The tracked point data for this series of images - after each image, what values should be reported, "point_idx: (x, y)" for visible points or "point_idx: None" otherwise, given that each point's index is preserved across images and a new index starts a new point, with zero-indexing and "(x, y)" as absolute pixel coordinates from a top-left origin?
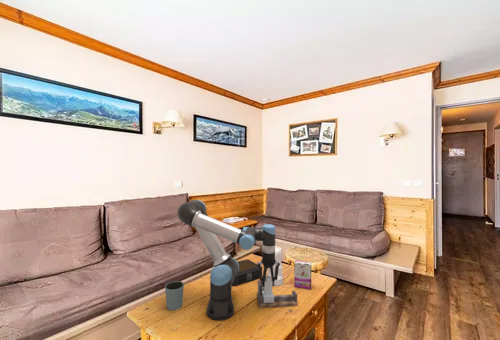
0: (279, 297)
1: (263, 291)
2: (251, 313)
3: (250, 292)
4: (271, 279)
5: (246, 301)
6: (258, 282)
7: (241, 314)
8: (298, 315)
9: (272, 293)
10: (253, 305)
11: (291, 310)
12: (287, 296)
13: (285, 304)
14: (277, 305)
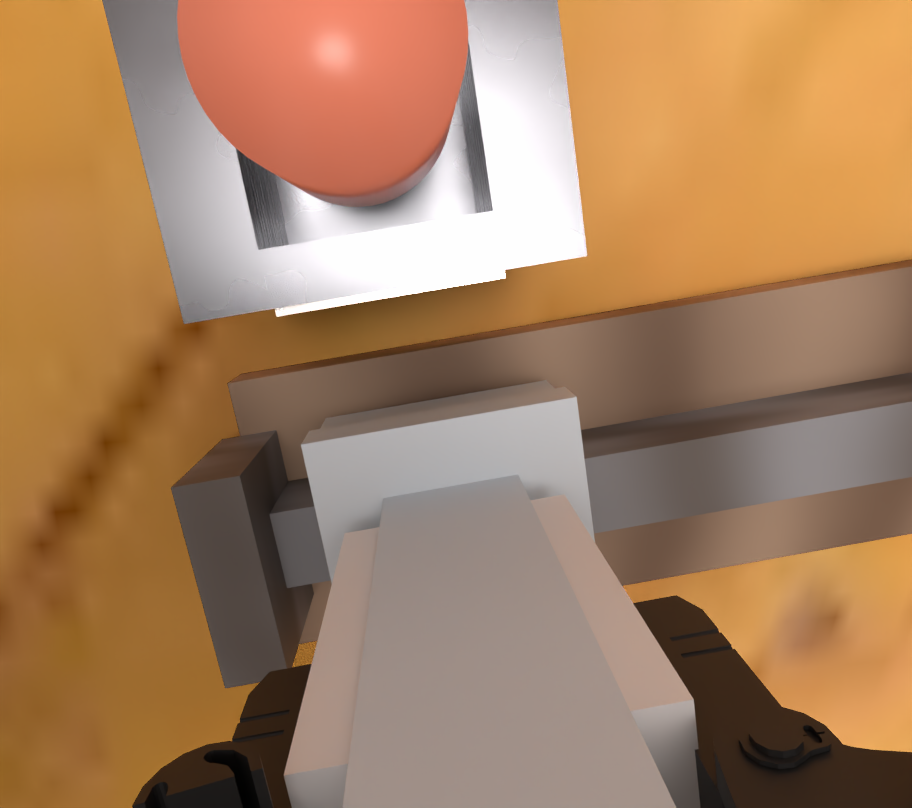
0: (718, 505)
1: (343, 439)
2: (167, 759)
3: (48, 46)
4: (694, 715)
5: (19, 427)
6: (128, 91)
7: (3, 797)
8: (904, 734)
9: (580, 519)
10: (178, 546)
11: (833, 627)
12: (907, 469)
13: (778, 551)
14: (624, 577)
